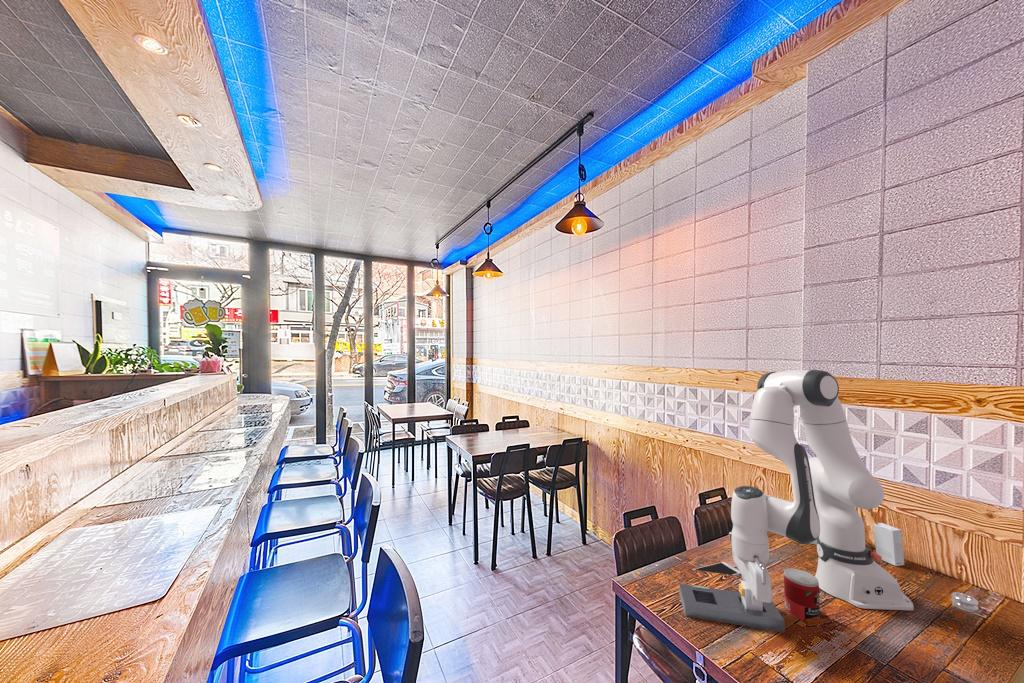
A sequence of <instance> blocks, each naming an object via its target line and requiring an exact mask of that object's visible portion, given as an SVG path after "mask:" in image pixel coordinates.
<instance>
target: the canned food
mask: <svg viewBox="0 0 1024 683" xmlns="http://www.w3.org/2000/svg"><path fill="white" fill-rule="evenodd" d="M783 585H784V586H783V588H784V589H783V590H784V591H783V592H784V608H785V610H786V611H787V613H789V614H790V615H791V616H793V617H795V618H796V619H799V620H801V621H804V622H808V623H818V622H819V621H821V611H820V610H821V608H820V606H821V605H820V588H819V582H818V579H817V578H816V577H815V575H813V574H812V573H810V572H807V571H805V570H802V569H797V568H793V567H792V568H791V567H790V568H786V569H784V570H783Z"/></svg>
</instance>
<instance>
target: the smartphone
mask: <svg viewBox="0 0 1024 683" xmlns="http://www.w3.org/2000/svg"><path fill="white" fill-rule="evenodd" d="M691 570H692V571H693V570H694V571H700V572H708V573H715V574H723V575H731V576H739V575H738V574H740V575H741V573H740V571H739V569H738V568H735V567H733V566H732V565H730V564H729V563H727V562H726V561H721V562H717V563H712V564H710V565H705V566H700V567H697V568H692V569H691Z"/></svg>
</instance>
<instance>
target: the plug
mask: <svg viewBox="0 0 1024 683" xmlns="http://www.w3.org/2000/svg"><path fill="white" fill-rule="evenodd" d="M738 592H740V594H741V598H742V606H743V608H744V609H748V610H754V611H761V612H763V602H760V606H754V605H753V604H752V602H751V596H752V592H751V590H750V588H749V587H748V585H747V583H746V582H745V581H743V580H740V583H738Z"/></svg>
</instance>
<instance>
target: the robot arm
mask: <svg viewBox="0 0 1024 683" xmlns="http://www.w3.org/2000/svg"><path fill="white" fill-rule="evenodd" d="M756 388H757V389H756V390H757V391H756V392H755V394H754V398H753V401H752V405H751V408H750V409H751V410H750V417H749V425H748V426H749V430H748V432H749V436H750V438H751V440H752V442H753V443H754V444H755V445H756V446H757V447H758V448H759V449H761V451H763V452H765V453H767V454H769V455H771V456H772V457H774V458H776V459H777V460H779V461H780V462H781V463H783V464H784V465H785V466H786V468H788V470H789V474H790V475H789V476H790V482H791V489H792V498H793V499H792V500H793V501H790V500H785V499H782V498H779V497H775V496H773V495H769V494H765V493H764V491H762V490H761V489H759V487H756V486H751V485H750V486H749V485H742V486H741V485H740V486H738V487H735V488H734V490H733V492H732V495H731V496H732V497H731V502H730V503H731V504H730V520H731V522H732V530H731V531H729V533H728V538H729V540H730V544H731V552H732V554H731V555H732V559H733V563H734V564H735V566H736V569H737V570H739V571H740V573H741V574H740V575H741V579H742V581H745V582H746V583H747V585H748V587H749V588H750V590H751V592H752V596H751V602H752V604H753V605H754V606H760V602H765V603H771V602H773V589H772V588H773V587H772V581H771V580H772V579H771V574H770V571H769V570H768V569H767V567H766V565H764V564H765V562H768V561H769V559H770V540H769V536H768V533H767V532H771V533H774V534H777V535H779V536H781V537H785V538H787V539H788V540H791V541H794V542H796V543H798V544H800V545H807V544H810V543H811V542H813V541H815V540H817V545H816V551H817V552H816V553H817V556H818V558H817V567H816V573H815V575H814V576H815V577H816V578H817V579H818V582H819V590H822V591H823V592H825V593H827V594H829V595H831V596H833V597H835V598H837V599H840V600H842V601H844V602H847V603H849V604H851V605H853V606H855V607H857V608H860V609H864V610H865V609H867V610H868V609H869V610H891V611H893V610H894V611H914V610H915V607H914V603H913V601H912V600H911V599H910V598H909V597H908V596H907V595H906V594H904V593H903V592H902V588H901V586H900V584H899V582H898V581H897V579H896V578H895V577H894V576H893V575H892V574H891V573H889V571H887V570H886V568H885V569H884V568H883V567H882V566H881V565H880V564H878V563H879V562H881V561H883V560H882V558H881V556H880V555H879V554H877V553H876V551H873V550H872V549H870V548H869V547H868V546H866V535H865V534H866V533H865V531H866V530H865V529H866V528H865V523H864V520H863V518H862V516H861V515H860V514H859V513H858V511H857V509H856V508H858V509H861V510H872V509H875V508H878V507H879V506H880V505H881V504H882V503H883V501H884V500H885V490H884V487H883V486H882V484H881V483H880V482H879V480H877V478H875V477H874V476H873V474H871V472H870V471H869V470H868V468H867V466H866V464H865V463H864V461H863V459H862V458H861V456H860V455H859V453H858V451H857V449H856V447H855V443H854V442H853V438H852V436H851V431H850V429H849V424H848V420H847V417H846V413H845V411H844V408H843V405H842V403H841V401H840V399H839V392H840V386H839V383H838V380H837V379H836V378H835V376H834V375H832V373H830V372H828V371H826V370H820V369H790V370H782V371H771V372H770V371H769V372H767V373H763V375H761V377H759V379H758V382H757V386H756ZM795 406H799V410H800V417H801V421H802V425H803V426H802V427H803V430H804V433H805V438H806V441H807V445H808V446H809V448H810V449H811V451H812V452H813V453H814V454H815V456H812V457H808V453H807V451H806V449H805V447H804V446H803V445H801V444H800V443H799V442H798V439H797V438H796V437H797V436H796V435H795V430H794V428H795V410H794V408H795ZM877 562H878V563H877Z"/></svg>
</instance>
